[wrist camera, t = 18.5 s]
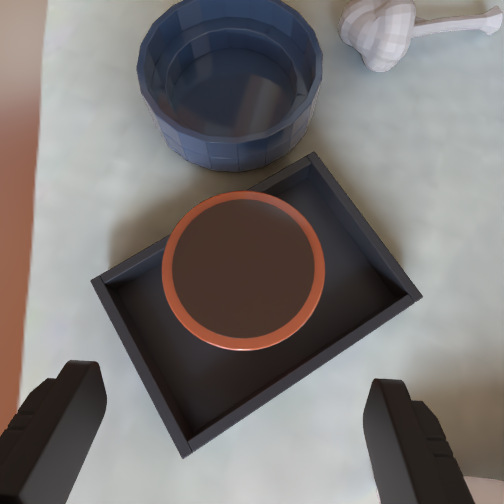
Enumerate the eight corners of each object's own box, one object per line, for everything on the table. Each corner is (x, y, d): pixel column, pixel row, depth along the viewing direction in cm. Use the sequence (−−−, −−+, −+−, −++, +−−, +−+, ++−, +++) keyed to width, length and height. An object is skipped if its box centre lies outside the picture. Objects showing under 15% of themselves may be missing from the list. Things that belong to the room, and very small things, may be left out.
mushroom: (543, 11, 23) (370, 15, 21) (495, 78, 27) (345, 87, 25) (487, -40, 27) (332, -41, 24) (451, 26, 31) (316, 31, 28)
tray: (308, 169, 25) (314, 150, 22) (405, 302, 22) (423, 296, 20) (107, 287, 23) (89, 280, 20) (190, 446, 20) (182, 459, 18)
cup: (262, 237, 23) (268, 162, 14) (314, 315, 22) (359, 291, 13) (182, 285, 22) (131, 240, 13) (231, 369, 21) (213, 386, 12)
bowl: (257, 16, 28) (258, -37, 24) (343, 125, 26) (359, 85, 22) (127, 82, 27) (105, 37, 23) (204, 204, 24) (195, 177, 20)
